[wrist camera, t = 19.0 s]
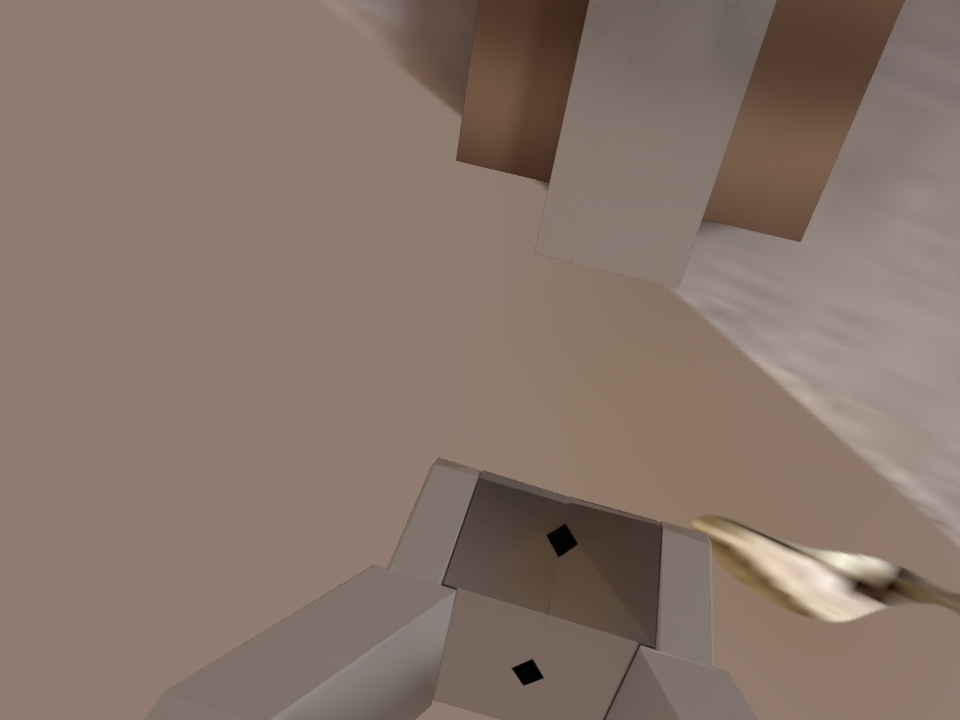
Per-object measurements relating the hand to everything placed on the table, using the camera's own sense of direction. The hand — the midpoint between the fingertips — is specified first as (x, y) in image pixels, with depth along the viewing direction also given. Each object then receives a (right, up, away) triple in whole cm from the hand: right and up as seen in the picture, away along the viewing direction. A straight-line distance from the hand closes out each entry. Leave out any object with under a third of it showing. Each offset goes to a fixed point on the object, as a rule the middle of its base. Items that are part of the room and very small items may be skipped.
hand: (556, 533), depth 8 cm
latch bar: (+5, +11, +15) cm, 19 cm away
